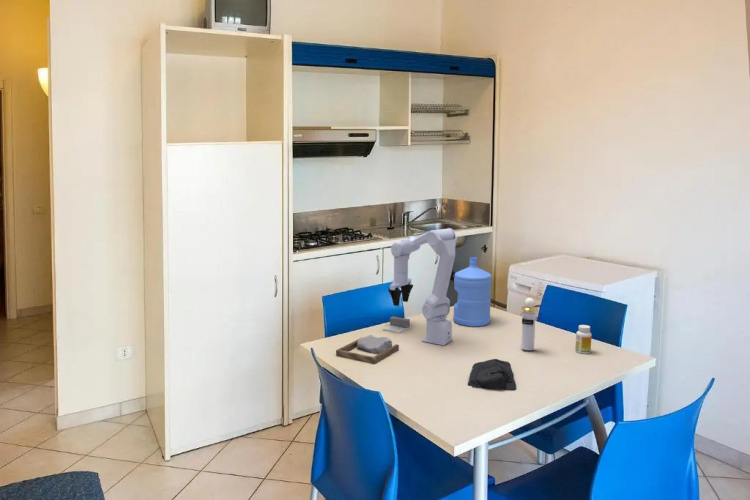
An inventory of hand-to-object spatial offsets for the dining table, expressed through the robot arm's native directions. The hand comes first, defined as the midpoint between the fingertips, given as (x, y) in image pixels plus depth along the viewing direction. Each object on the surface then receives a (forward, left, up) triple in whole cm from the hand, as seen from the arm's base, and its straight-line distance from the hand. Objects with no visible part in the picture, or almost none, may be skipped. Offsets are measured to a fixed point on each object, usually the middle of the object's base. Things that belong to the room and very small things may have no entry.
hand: (400, 303), depth 262 cm
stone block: (-4, +28, -11) cm, 31 cm away
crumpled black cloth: (-53, +32, -11) cm, 63 cm away
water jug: (-22, -23, -10) cm, 33 cm away
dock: (-5, +33, -10) cm, 35 cm away
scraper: (0, +3, -11) cm, 11 cm away
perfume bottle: (-54, 0, -10) cm, 55 cm away
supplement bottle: (-72, -9, -10) cm, 73 cm away
